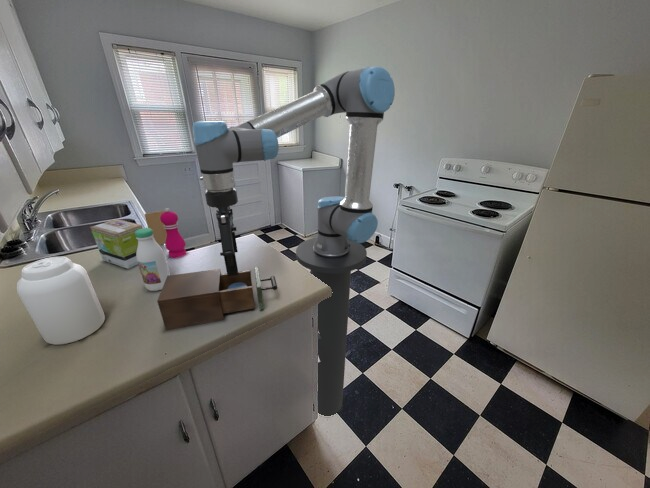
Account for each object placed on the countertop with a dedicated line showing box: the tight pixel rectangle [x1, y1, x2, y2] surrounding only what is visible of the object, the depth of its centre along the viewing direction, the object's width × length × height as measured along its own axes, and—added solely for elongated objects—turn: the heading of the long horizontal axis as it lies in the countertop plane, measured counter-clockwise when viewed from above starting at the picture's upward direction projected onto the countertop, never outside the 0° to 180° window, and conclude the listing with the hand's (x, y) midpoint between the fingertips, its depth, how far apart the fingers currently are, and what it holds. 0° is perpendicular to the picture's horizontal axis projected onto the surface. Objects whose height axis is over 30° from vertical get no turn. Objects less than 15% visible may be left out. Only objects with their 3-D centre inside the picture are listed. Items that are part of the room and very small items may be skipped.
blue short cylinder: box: [228, 282, 247, 290], centre depth 81 cm, size 6×6×4 cm
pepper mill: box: [160, 207, 187, 259], centre depth 107 cm, size 7×7×20 cm
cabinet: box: [156, 268, 225, 331], centre depth 77 cm, size 15×13×10 cm
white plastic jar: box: [16, 255, 106, 346], centre depth 68 cm, size 12×12×20 cm
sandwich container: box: [144, 210, 167, 246], centre depth 123 cm, size 9×15×15 cm, turn 36°
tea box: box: [89, 218, 143, 270], centre depth 103 cm, size 15×10×15 cm, turn 67°
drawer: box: [219, 267, 278, 315], centre depth 81 cm, size 18×11×8 cm, turn 107°
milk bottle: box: [135, 227, 171, 292], centre depth 87 cm, size 8×8×20 cm
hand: (233, 262), depth 77 cm, fingers open, 13 cm apart
